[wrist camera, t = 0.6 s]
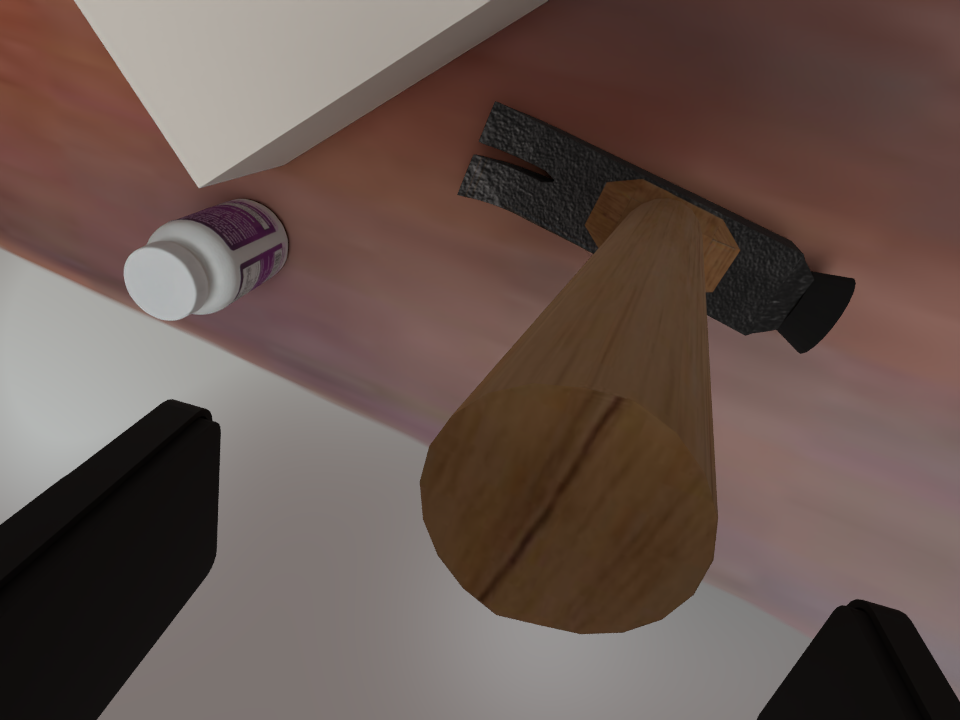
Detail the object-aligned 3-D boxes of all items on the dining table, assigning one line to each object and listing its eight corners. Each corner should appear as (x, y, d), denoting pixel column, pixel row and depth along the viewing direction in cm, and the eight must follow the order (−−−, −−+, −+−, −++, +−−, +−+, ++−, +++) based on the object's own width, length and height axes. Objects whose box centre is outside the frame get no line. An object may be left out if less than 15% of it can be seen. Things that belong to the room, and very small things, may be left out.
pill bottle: (199, 212, 39) (89, 249, 30) (267, 186, 37) (172, 217, 29) (238, 288, 41) (145, 344, 32) (305, 266, 39) (225, 318, 31)
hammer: (491, 186, 37) (-20, 310, 11) (525, 106, 35) (-13, 13, 8) (789, 343, 35) (1094, 1021, 8) (847, 267, 32) (1527, 863, 6)
